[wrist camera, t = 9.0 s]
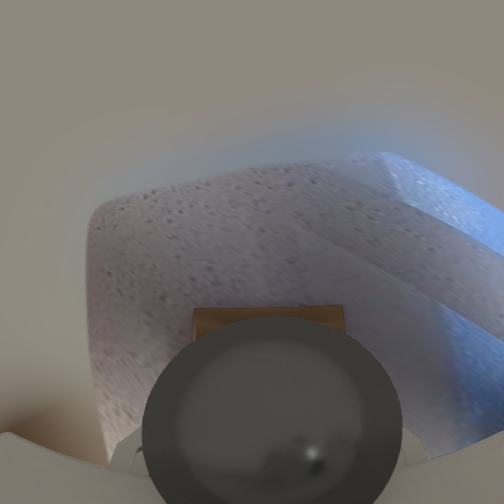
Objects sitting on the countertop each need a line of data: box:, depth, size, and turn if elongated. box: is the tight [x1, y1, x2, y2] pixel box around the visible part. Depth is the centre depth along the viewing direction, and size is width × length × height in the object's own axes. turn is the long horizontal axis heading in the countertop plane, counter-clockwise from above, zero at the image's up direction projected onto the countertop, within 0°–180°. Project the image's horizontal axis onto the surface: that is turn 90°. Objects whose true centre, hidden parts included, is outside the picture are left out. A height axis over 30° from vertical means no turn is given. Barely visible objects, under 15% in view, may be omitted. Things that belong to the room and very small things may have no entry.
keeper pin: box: [141, 316, 402, 504], centre depth 11 cm, size 6×6×12 cm
